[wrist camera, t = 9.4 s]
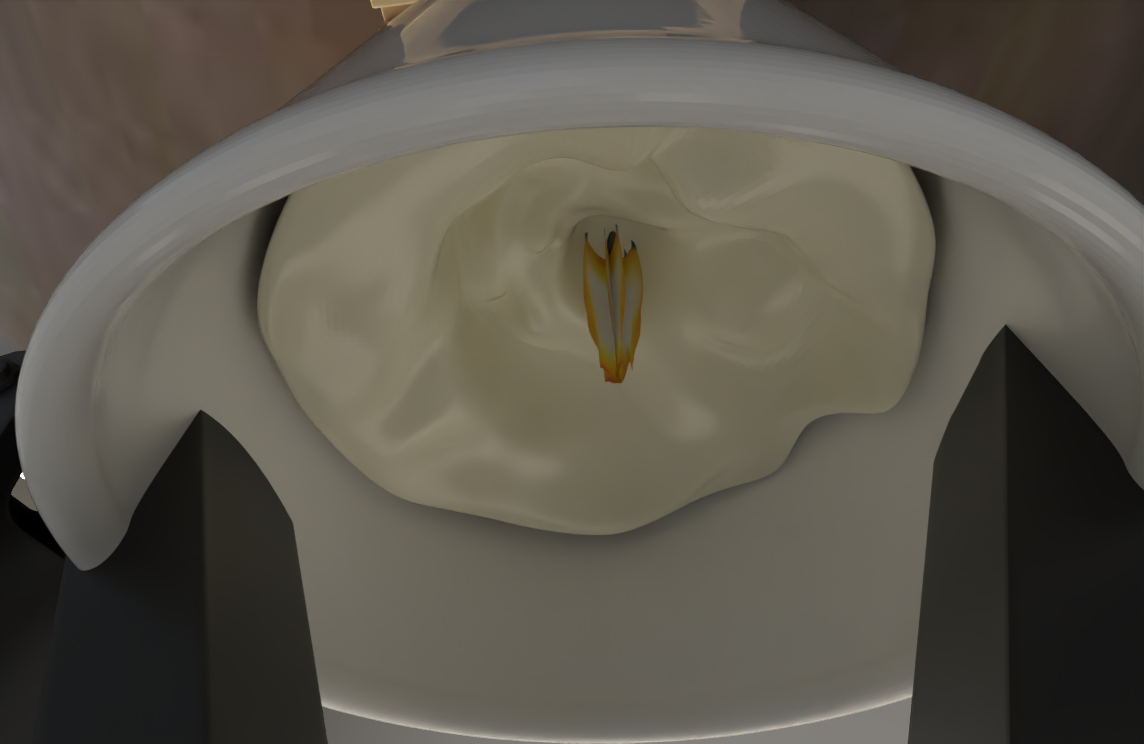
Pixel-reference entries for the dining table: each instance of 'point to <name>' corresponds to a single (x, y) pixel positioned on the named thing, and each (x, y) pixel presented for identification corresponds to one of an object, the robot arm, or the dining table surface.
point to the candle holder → (590, 356)
